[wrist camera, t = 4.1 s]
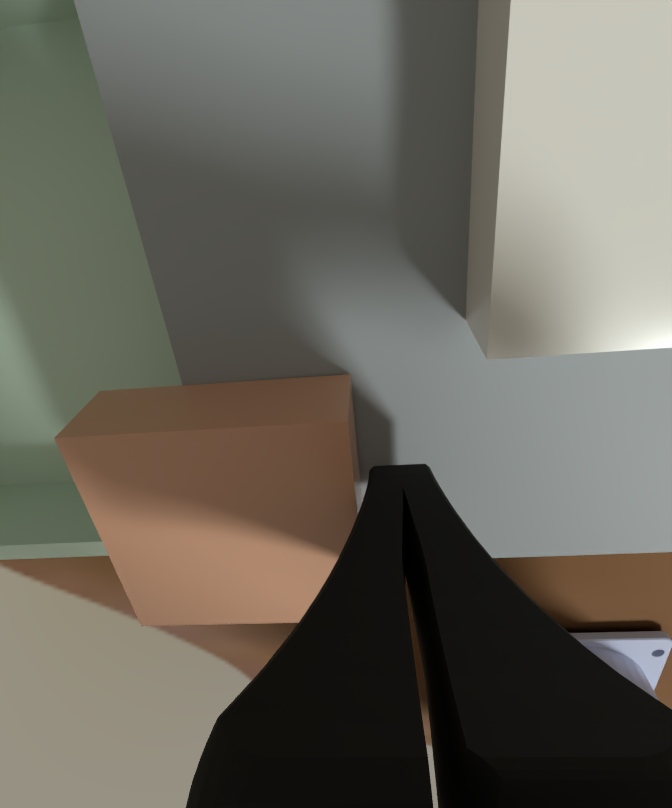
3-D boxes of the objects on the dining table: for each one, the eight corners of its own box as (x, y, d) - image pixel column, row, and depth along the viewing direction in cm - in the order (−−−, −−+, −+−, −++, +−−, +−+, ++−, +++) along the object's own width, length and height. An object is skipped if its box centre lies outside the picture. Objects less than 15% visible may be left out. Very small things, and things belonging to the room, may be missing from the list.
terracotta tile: (367, 559, 14) (368, 621, 12) (167, 566, 15) (141, 626, 13) (350, 374, 11) (347, 421, 9) (99, 391, 12) (53, 438, 10)
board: (686, 459, 17) (771, 548, 13) (258, 481, 18) (234, 567, 15) (883, -137, 10) (1177, -280, 6) (144, -34, 11) (43, -107, 7)
